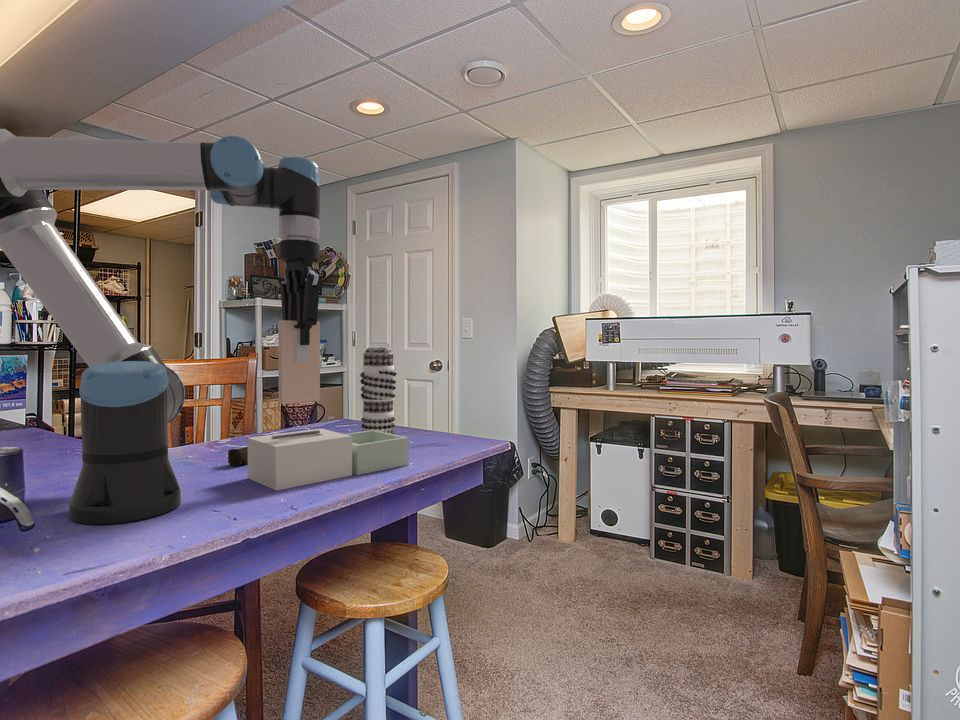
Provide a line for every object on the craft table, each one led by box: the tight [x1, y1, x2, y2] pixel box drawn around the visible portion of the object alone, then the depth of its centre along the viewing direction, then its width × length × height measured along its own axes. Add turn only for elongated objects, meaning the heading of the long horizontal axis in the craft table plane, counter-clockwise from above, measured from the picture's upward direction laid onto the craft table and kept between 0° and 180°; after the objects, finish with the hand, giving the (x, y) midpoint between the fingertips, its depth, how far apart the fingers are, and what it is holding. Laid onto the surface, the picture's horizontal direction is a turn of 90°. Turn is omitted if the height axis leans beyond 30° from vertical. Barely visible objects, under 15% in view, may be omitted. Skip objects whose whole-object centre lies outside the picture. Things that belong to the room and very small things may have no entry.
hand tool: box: [227, 446, 248, 468], centre depth 128 cm, size 19×4×5 cm, turn 150°
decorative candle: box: [359, 347, 398, 435], centre depth 144 cm, size 9×9×25 cm
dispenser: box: [247, 428, 353, 491], centre depth 111 cm, size 16×12×8 cm
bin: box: [345, 430, 410, 476], centre depth 123 cm, size 13×13×6 cm
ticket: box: [277, 319, 321, 405], centre depth 111 cm, size 8×2×16 cm, turn 136°
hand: (299, 361), depth 111 cm, fingers closed on ticket, 1 cm apart
